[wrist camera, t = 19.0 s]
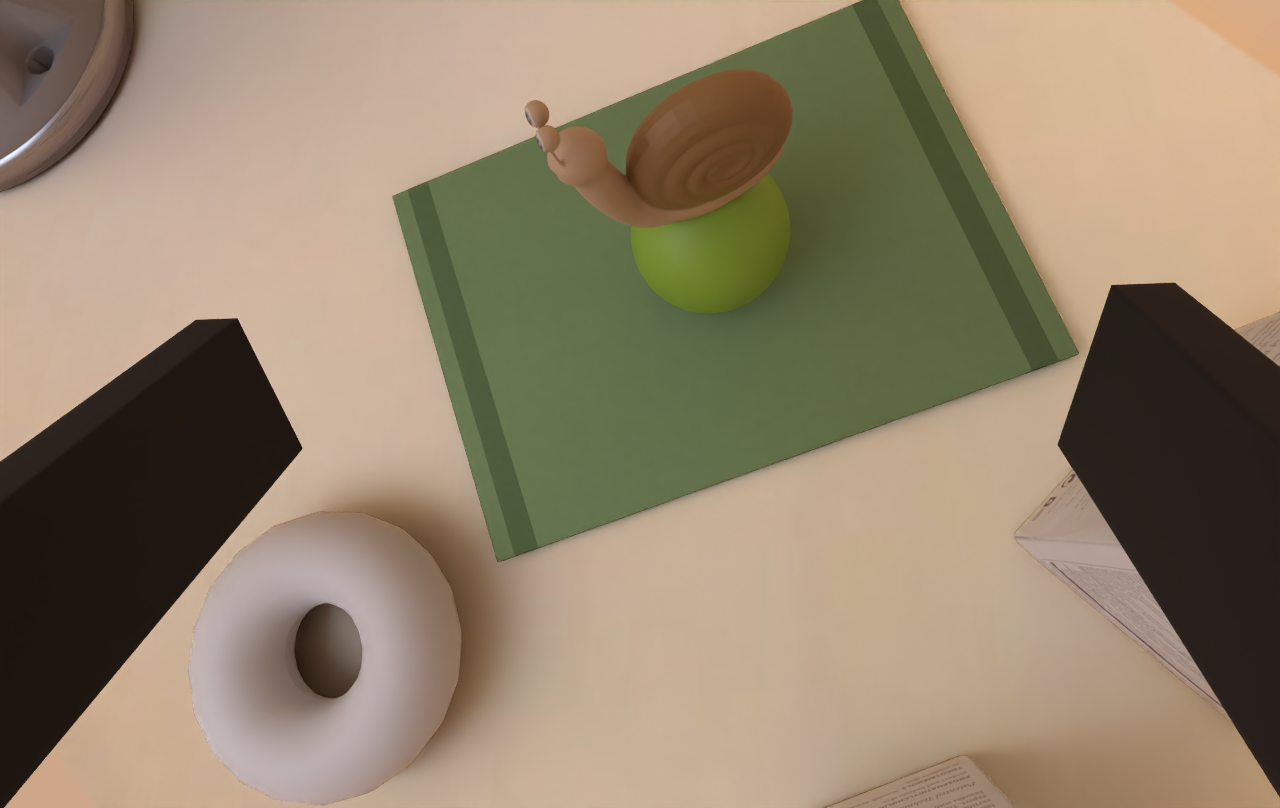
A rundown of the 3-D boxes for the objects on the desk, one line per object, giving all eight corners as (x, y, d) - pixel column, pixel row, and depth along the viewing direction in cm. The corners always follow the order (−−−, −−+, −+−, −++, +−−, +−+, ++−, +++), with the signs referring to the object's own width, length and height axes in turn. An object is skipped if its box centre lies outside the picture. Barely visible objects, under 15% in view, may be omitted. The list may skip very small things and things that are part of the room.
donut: (502, 536, 25) (271, 490, 27) (467, 539, 22) (205, 486, 24) (445, 811, 24) (205, 746, 26) (398, 860, 21) (125, 781, 22)
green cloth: (396, 200, 28) (391, 195, 28) (889, -5, 27) (892, -13, 26) (500, 561, 25) (497, 562, 25) (1073, 356, 23) (1079, 353, 23)
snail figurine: (599, 244, 26) (483, 25, 14) (748, 174, 26) (753, -111, 14) (652, 365, 25) (572, 233, 13) (809, 294, 25) (870, 93, 13)
